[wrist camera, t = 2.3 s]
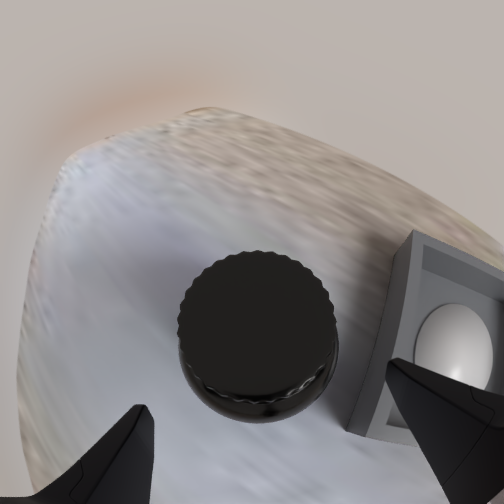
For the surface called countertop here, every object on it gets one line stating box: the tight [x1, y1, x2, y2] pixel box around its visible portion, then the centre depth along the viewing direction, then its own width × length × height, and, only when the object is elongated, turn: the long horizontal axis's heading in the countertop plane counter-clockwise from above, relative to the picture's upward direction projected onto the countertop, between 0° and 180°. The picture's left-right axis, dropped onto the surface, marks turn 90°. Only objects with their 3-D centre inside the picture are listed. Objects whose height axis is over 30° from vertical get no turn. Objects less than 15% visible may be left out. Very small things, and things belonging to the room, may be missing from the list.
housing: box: [346, 229, 504, 447], centre depth 15 cm, size 15×15×4 cm
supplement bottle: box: [177, 250, 339, 424], centre depth 13 cm, size 7×7×12 cm
